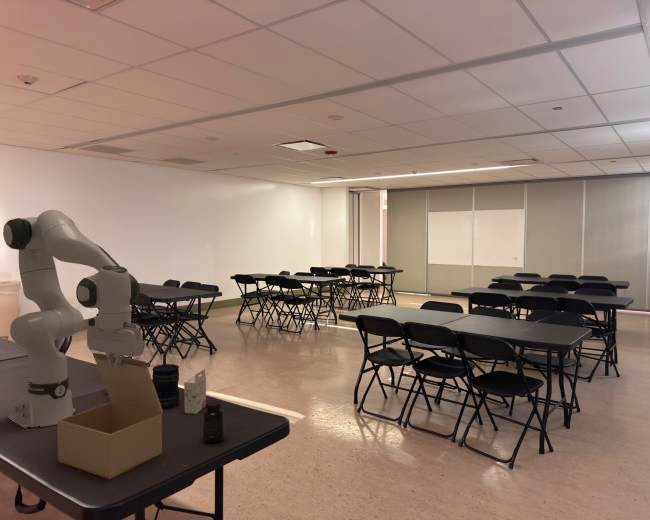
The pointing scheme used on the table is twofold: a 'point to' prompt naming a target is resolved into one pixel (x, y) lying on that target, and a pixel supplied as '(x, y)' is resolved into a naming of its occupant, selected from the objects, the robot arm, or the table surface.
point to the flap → (129, 383)
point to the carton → (109, 439)
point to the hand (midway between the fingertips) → (115, 368)
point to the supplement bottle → (213, 422)
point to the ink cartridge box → (195, 393)
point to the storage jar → (166, 385)
